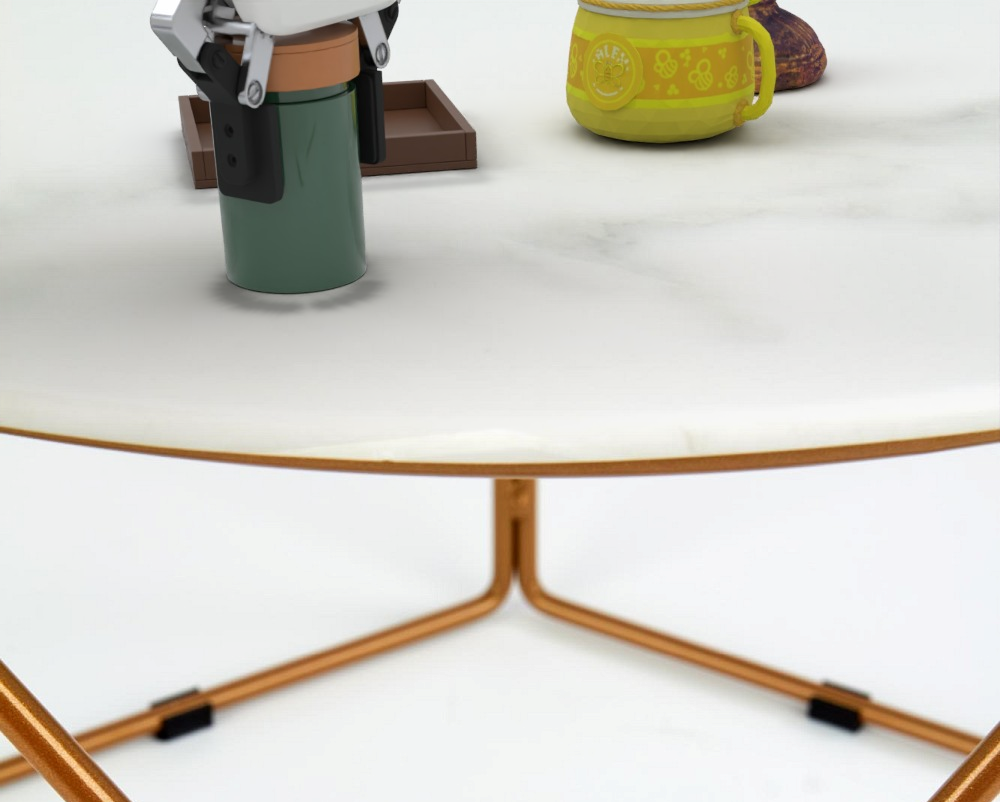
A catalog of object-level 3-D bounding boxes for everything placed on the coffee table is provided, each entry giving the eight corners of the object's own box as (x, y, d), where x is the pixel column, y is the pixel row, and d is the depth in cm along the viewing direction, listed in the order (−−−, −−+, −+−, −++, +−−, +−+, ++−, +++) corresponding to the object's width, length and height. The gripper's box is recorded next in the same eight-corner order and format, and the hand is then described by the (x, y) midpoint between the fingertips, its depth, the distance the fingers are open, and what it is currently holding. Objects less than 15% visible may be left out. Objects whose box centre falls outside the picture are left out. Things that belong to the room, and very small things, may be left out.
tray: (195, 188, 90) (191, 151, 89) (181, 129, 101) (177, 95, 100) (477, 167, 93) (476, 131, 92) (434, 111, 104) (433, 78, 103)
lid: (187, 65, 76) (183, 21, 75) (336, 52, 78) (334, 9, 77) (219, 98, 70) (214, 51, 69) (378, 83, 72) (376, 38, 71)
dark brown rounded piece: (782, 103, 104) (791, -27, 100) (608, 83, 109) (610, -42, 105) (855, 66, 112) (866, -56, 108) (690, 48, 117) (695, -68, 113)
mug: (526, 135, 98) (524, -96, 92) (632, 98, 106) (638, -119, 99) (718, 169, 92) (731, -78, 85) (817, 126, 99) (836, -104, 92)
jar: (233, 298, 75) (210, 69, 70) (221, 255, 81) (198, 39, 75) (377, 286, 77) (364, 59, 71) (355, 245, 82) (342, 30, 77)
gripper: (189, -283, 58) (240, 242, 68) (476, -303, 70) (484, 146, 80) (33, -285, 62) (104, 214, 72) (332, -304, 74) (357, 126, 84)
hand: (304, 174), depth 76 cm, fingers closed on jar, lid, 6 cm apart
